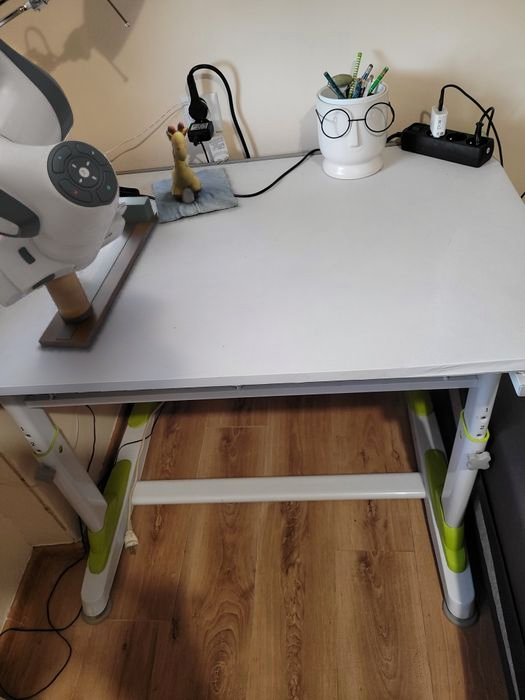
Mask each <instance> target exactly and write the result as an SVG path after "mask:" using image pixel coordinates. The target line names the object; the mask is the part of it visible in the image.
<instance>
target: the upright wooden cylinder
mask: <svg viewBox="0 0 525 700" xmlns="http://www.w3.org/2000/svg"><path fill="white" fill-rule="evenodd" d="M78 278H79V276H78V275H77V272H71V273H69V274H67V275H65V276H61V277H58V278H56V279H53V280H52V281H50V282H47V283H46V285H45V286H44V287H45V288H46V290H47V292H48V294H49V296H50V297H51V300H52V301H53V303H54V305H55V307H56V309H57V311H58V310H59V315H60V317H61V319H62V320H63V321H64V322H66V323H71V324H72V323H78V322H81V321H83V320H85V319H87V318H88V317H89V316H90V315H91V314H92V312H93V306H92V304H91V302H90V300H88V298H87V296H86V294H85V292H84V290H83V287H82V285H81V283H80V281H79V279H78Z"/></svg>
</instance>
